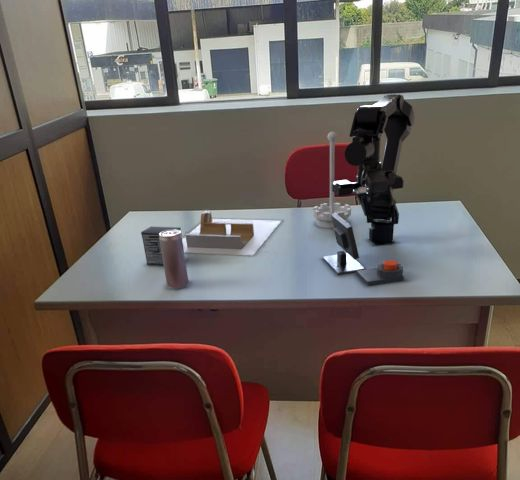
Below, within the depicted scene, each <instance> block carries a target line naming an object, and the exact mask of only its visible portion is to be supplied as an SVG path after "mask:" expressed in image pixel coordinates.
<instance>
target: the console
mask: <svg viewBox="0 0 520 480" xmlns="http://www.w3.org/2000/svg"><path fill="white" fill-rule="evenodd" d="M383 266H384V262H383V263H380V264H378V266H377V267H374V268H365V270H359V271H357V272H356V275H355V276H357V277H358V278H359V279H360V280H361V281H362V282H363V283H364V284H365V285H366V286H367V287H371V286H377V285H383V284H391V283H396V282H402V281H404V278H405V277H404V274H403V273H404V266H403V265H402V264H401V263H398V266H397V269H396V270H385V269H383Z"/></svg>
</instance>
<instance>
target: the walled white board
mask: <svg viewBox="0 0 520 480" xmlns="http://www.w3.org/2000/svg"><path fill="white" fill-rule="evenodd" d="M281 222H282V220H273V219H272V220H270V219H269V220H268V219H267V220H265V219H233V218H232V219H230V218H229V219H228V218H224V219H223V218H213V217H212V210H211V209H209V208H207V209H205V208H204V209H202V213H201V215H200V224H199V225H197V226H196V227H195V228H194V229H192V230H191V231H189V232H188V231H187V230H186V232H185V233H184V234H185V236H184V237H182V241H183V247H184V253H188V254H208V255H209V254H210V255H211V254H213V255H229V256H230V255H231V256H233V255H234V256H254V255H255V253H257V251H258V250H259V249H260V247H262V245H263V244H264V242H266V240H267V239H268V238H269V237H270V235H271V234H272V233H273V232H274V230H275V229H276V228H277V227H278V226H279V225H280V223H281Z"/></svg>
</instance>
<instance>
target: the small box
mask: <svg viewBox="0 0 520 480" xmlns="http://www.w3.org/2000/svg"><path fill="white" fill-rule="evenodd" d="M172 229H175V230H179V231H180V232H181V235H182V229H181V227H178V226H177V227H173V226H150V227H148V228H146V229H144V230H142V231H141V232H140V234H141V238H142V244H143V249H144V255H145V261H146V265H147V266H154V267H164V264H163V258H162V252H161V246H160V241H159V233H160V232H162V231H165V230H172Z"/></svg>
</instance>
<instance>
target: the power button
mask: <svg viewBox="0 0 520 480" xmlns="http://www.w3.org/2000/svg"><path fill="white" fill-rule="evenodd" d="M383 263H384V266H383V269H385V270H396V269H397V266H398V264H399V262H398V261H396V260H394V259H387V260H385V261H383Z"/></svg>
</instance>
